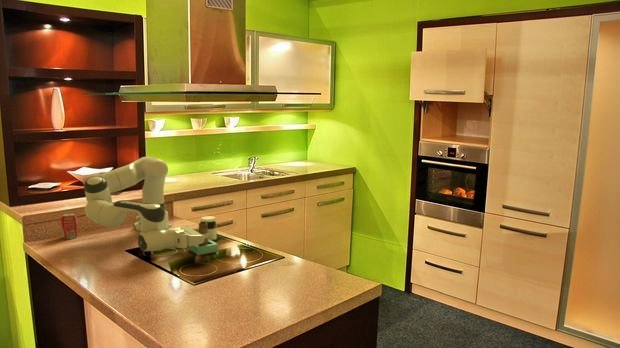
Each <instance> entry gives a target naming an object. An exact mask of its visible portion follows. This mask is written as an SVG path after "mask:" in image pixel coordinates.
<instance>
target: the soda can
mask: <svg viewBox="0 0 620 348" xmlns="http://www.w3.org/2000/svg"><path fill="white" fill-rule="evenodd" d="M77 218H78V217H77V216H76V213H71V212H70V213H64V214H62V215H61V218H60V219H61V220H60V223H61V224H60V225H61V235H62V238H64V239H66V240H71V239H72V240H73V239H74V238H75V239H76V238H77V237H78V233H79V231H78V221H77V220H78V219H77Z"/></svg>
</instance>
